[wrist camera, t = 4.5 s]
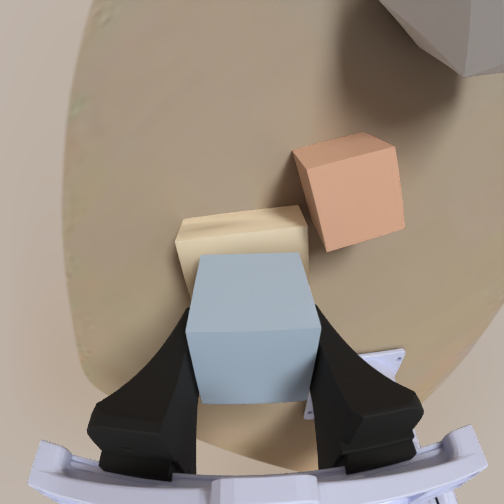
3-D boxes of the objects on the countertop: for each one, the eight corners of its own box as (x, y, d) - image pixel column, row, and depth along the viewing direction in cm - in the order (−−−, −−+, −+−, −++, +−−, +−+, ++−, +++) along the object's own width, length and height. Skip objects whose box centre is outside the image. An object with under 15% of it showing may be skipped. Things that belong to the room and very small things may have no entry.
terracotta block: (374, 198, 17) (404, 228, 13) (310, 216, 17) (326, 252, 14) (362, 131, 15) (395, 146, 12) (291, 150, 16) (306, 169, 12)
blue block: (292, 324, 17) (306, 400, 12) (209, 326, 17) (202, 403, 12) (298, 252, 14) (321, 327, 10) (200, 255, 14) (185, 331, 10)
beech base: (301, 294, 20) (309, 324, 18) (205, 304, 21) (201, 336, 18) (297, 202, 17) (307, 225, 15) (184, 216, 17) (174, 241, 15)
